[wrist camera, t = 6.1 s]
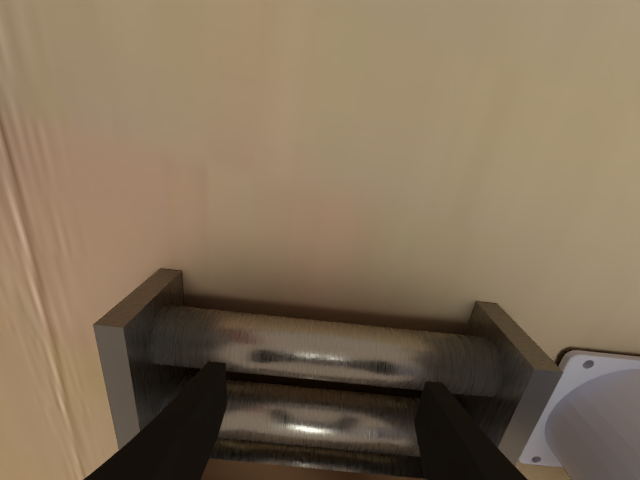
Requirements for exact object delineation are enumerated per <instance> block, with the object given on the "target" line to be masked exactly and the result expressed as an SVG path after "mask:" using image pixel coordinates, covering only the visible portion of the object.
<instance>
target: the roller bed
mask: <svg viewBox="0 0 640 480" xmlns="http://www.w3.org/2000/svg"><path fill="white" fill-rule="evenodd" d="M93 327H94V332H95V337H96V342H97V346H98V351H99V356H100V361H101V366H102V371H103V376H104V380H105V385H106V390H107V395H108V400H109V405H110V410H111V414H112V419H113V424H114V429H115V434H116V439H117V443H118V448H119V450H120V449H121V448H122V447H123V446H124V445H126V444H127V443H128V442H129V441H130V440H131V439H132V438H133V437H134V436H136V435H137V434H138V433H139V432H140V431H141V430H142V429H143V428H144V427H145V426H146V425H147V424H148V423H149V422H150V421H152V420H153V419H154V418H155V417H156V416H157V415H158V414H159V413H160V412H161V411H162V410H163V409H164V408H165V407H166V406H167V405H168V404H169V403H170V402H171V401H172V400H173V399H174V398H175V397H176V396H177V395H178V394H179V392H180V391H181V390H182V389H183V388H184V387H185V386H186V385H187V384H188V383H189V382H190V381H191V380H192V379H193V377H194V376H189V370H188V367H190V368H201V369H202V367H203V366H204V365H205V364H206V363H207V362H220V363H226V371H231V372H241V373H251V374H261V375H271V376H281V377H291V378H302V379H312V380H322V381H332V382H342V383H352V384H362V385H372V386H382V387H393V388H403V389H413V390H423V388H424V385H425V381H431V382H442V383H443V384H444V385H445V386H446V387H447V389H448V390H449V391H450V392H451V393H452V395H453V396H454V397H455V398H456V399H457V401H458V402H459V403H460V404H461V406H462V407H463V408H464V409H465V410H466V412H467V413H468V414H469V415H470V416H471V418H472V419H473V420H474V421H475V422H476V423H477V425H478V426H479V427H480V428H481V429H482V431H483V432H484V433H485V434H486V435H487V436H488V437H489V439H490V440H491V441H492V442H493V443H494V444H495V445H496V446H497V448H498V449H499V450H500V451H501V452H502V453H503V454H504V455H505V456H506V458H507V459H508V460H509V461H510V462H511V463H512V464H513V465H514V466H515V465H516V463H517V461H518V459H519V457H520V455H521V453H522V451H523V449H524V448H525V446H526V444H527V442H528V440H529V438H530V436H531V434H532V432H533V430H534V428H535V426H536V424H537V422H538V420H539V419H540V417H541V415H542V413H543V411H544V409H545V407H546V405H547V403H548V401H549V399H550V397H551V395H552V393H553V391H554V390H555V388H556V386H557V384H558V382H559V380H560V378H561V376H562V374H563V371H562V370H561V369H560V368H559V367H558V366H557V365H556V364H555V363H554V362H553V361H552V360H551V359H550V358H549V357H548V355H547V354H546V353H545V352H544V351H543V350H542V349H541V348H540V347H539V346H538V345H537V344H536V343H535V342H534V341H533V340H532V339H531V338H530V337H529V336H528V335H527V334H526V333H525V332H524V331H523V330H522V329H521V328H520V327H519V326H518V324H517V323H516V322H515V321H514V320H513V319H512V318H511V317H510V316H509V315H508V314H507V313H506V312H505V311H504V310H503V309H502V308H501V307H500V306H499V305H498V304H496V303H486V302H476V304H475V307H474V310H473V313H472V316H471V319H470V322H469V325H468V328H467V331H466V334H465V335H457V334H448V333H438V332H428V331H418V330H408V329H399V328H389V327H379V326H369V325H359V324H350V323H340V322H330V321H320V320H310V319H300V318H291V317H281V316H271V315H261V314H251V313H242V312H232V311H222V310H212V309H202V308H193V307H184V300H183V287H182V273H181V271H178V270H168V269H159V270H158V271H157V272H155V273H154V274H153V275H152V276H151V277H149V278H148V279H147V280H146V281H145V282H143V283H142V284H141V285H140V286H139V287H137V288H136V289H135V290H134V291H133V292H131V293H130V294H129V295H128V296H127V297H125V298H124V299H123V300H122V301H121V302H120V303H118V304H117V305H116V306H115V307H114V308H112V309H111V310H110V311H109V312H108V313H106V314H105V315H104V316H103V317H102V318H100V319H99V320H98V321H97V322H96V323H94V324H93ZM226 391H227V407H226V410H225V414H224V417H223V421H222V424H221V427H220V431H219V434H218V437H217V440H216V442H215V445H214V447H213V450H212V452H211V455H210V458H209V459H219V460H230V461H240V462H251V463H261V464H272V465H282V466H293V467H303V468H314V469H325V470H335V471H346V472H356V473H367V474H377V475H388V476H398V477H409V478H419V479H427V475H426V472H425V469H424V466H423V462H422V459H421V455H420V451H419V446H418V441H417V436H416V431H415V425H414V419H415V416H416V412H417V409H418V405H419V402H420V398H411V397H401V396H390V395H380V394H370V393H360V392H350V391H340V390H329V389H319V388H309V387H299V386H289V385H279V384H269V383H258V382H248V381H238V380H228V379H226Z"/></svg>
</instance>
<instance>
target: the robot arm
mask: <svg viewBox="0 0 640 480" xmlns="http://www.w3.org/2000/svg"><path fill="white" fill-rule="evenodd" d="M558 367H559V368H560V369H561V370H562V371H563V374H562V376H561V378H560V380H559V382H558V384H557V386H556V388H555V390H554V391H553V393H552V395H551V397H550V399H549V401H548V403H547V405H546V407H545V409H544V411H543V413H542V415H541V417H540V419H539V420H538V422H537V424H536V426H535V428H534V430H533V432H532V434H531V436H530V438H529V440H528V442H527V444H526V446H525V448H524V449H523V451H522V453H521V455H520V457H519V459H518V461H519V462H521V463H523V464H532V465H542V466H553V467H563V468H564V469H565V471H566V472H567V474H568V475H569V477H570V478H571V479H572V480H640V357H638V356H628V355H619V354H609V353H599V352H589V351H579V350H573V351H569V352H567V353H566V354H565V355H564V356H563V358H562V360H561V362H560V364H559V366H558ZM226 407H227V391H226V363H220V362H207V363H206V364H205V365H204V366H203V367H202V369H201V370H200V371H199V372H198V373H197V374H196V375H195V376H194V377H193V379H192V380H191V381H190V382H189V383H188V384H187V385H186V386H185V387H184V388H183V389H182V390H181V391H180V392H179V394H178V395H177V396H176V397H175V398H174V399H173V400H172V401H171V402H170V403H169V404H168V405H167V406H166V407H165V408H164V409H163V410H162V411H161V412H160V413H159V414H158V415H157V416H156V417H155V418H154V419H153V420H152V421H150V422H149V423H148V424H147V425H146V426H145V427H144V428H143V429H142V430H141V431H140V432H139V433H138V434H137V435H136V436H134V437H133V438H132V439H131V440H130V441H129V442H128V443H127V444H126V445H124V446H123V447H122V448H121V449H120V450H119V451H118V452H116V453H115V454H114V455H113V456H112V457H111V458H109V459H108V460H107V461H106V462H105V463H103V464H102V465H101V466H100V467H99V468H97V469H96V470H95V471H94V472H93V473H91V474H90V475H89V476H87V477H86V478H85V479H84V480H201V477H202V475H203V472H204V470H205V468H206V465H207V463H208V460H209V458H210V455H211V452H212V450H213V447H214V445H215V442H216V440H217V437H218V434H219V431H220V427H221V424H222V421H223V417H224V414H225V410H226ZM414 425H415V431H416V436H417V441H418V446H419V451H420V455H421V459H422V462H423V466H424V469H425V472H426V475H427V479H428V480H527V479H526V478H525V477H524V476H523V475H522V473H521V472H520V471H519V470H518V469H517V468H516V467H515V466H514V465H513V464H512V463H511V462H510V461H509V460H508V459H507V458H506V456H505V455H504V454H503V453H502V452H501V451H500V450H499V449H498V448H497V446H496V445H495V444H494V443H493V442H492V441H491V440H490V439H489V437H488V436H487V435H486V434H485V433H484V432H483V431H482V429H481V428H480V427H479V426H478V425H477V423H476V422H475V421H474V420H473V419H472V418H471V416H470V415H469V414H468V413H467V412H466V410H465V409H464V408H463V407H462V406H461V404H460V403H459V402H458V401H457V399H456V398H455V397H454V396H453V395H452V393H451V392H450V391H449V390H448V389H447V387H446V386H445V385H444V384H443V383H442V382H431V381H425V385H424V388H423V392H422V395H421V398H420V402H419V405H418V409H417V412H416V416H415V419H414Z"/></svg>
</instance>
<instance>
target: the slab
mask: <svg viewBox="0 0 640 480" xmlns="http://www.w3.org/2000/svg"><path fill="white" fill-rule="evenodd" d="M201 480H428V479H419V478H409V477H398V476H388V475H377V474H367V473H356V472H346V471H335V470H325V469H314V468H303V467H293V466H282V465H272V464H261V463H251V462H240V461H230V460H219V459H209V460H208V463H207V465H206V468H205V470H204V472H203V475H202V477H201Z"/></svg>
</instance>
